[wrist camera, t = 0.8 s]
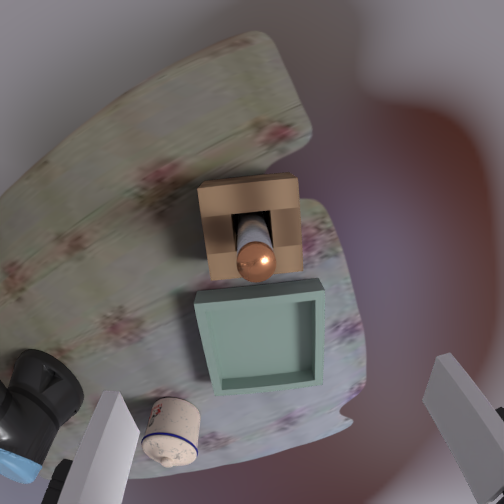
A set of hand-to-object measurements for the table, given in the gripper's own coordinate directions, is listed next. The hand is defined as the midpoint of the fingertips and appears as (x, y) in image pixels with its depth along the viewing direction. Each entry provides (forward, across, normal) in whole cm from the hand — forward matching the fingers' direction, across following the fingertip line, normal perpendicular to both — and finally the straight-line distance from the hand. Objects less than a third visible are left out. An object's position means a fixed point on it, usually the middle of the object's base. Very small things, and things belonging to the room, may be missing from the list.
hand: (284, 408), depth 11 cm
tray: (+29, 0, -16) cm, 33 cm away
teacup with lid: (+29, -17, -34) cm, 47 cm away
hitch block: (+29, 0, +1) cm, 29 cm away
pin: (+29, 0, +1) cm, 29 cm away
